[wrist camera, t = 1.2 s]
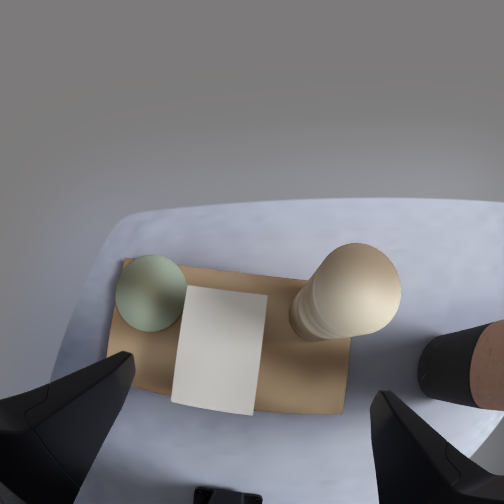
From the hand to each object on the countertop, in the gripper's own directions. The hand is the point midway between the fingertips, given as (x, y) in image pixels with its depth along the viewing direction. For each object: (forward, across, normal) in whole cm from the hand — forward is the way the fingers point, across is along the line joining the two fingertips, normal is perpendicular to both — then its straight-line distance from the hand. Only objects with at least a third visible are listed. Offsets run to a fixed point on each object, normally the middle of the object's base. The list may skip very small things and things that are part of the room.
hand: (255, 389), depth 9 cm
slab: (+12, +3, +8) cm, 15 cm away
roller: (+15, -5, +5) cm, 16 cm away
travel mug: (+13, -20, +9) cm, 26 cm away
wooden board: (+14, +3, +8) cm, 16 cm away
